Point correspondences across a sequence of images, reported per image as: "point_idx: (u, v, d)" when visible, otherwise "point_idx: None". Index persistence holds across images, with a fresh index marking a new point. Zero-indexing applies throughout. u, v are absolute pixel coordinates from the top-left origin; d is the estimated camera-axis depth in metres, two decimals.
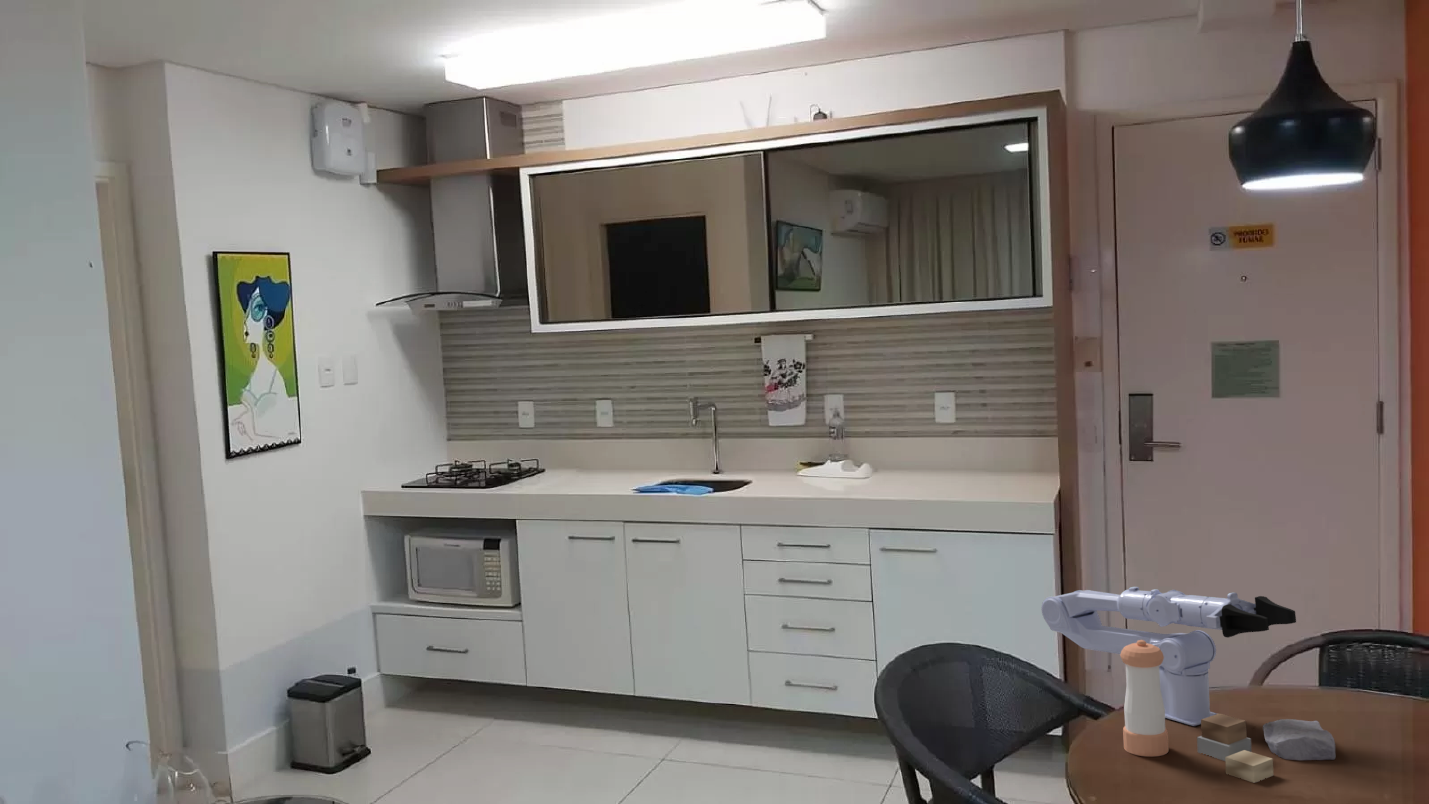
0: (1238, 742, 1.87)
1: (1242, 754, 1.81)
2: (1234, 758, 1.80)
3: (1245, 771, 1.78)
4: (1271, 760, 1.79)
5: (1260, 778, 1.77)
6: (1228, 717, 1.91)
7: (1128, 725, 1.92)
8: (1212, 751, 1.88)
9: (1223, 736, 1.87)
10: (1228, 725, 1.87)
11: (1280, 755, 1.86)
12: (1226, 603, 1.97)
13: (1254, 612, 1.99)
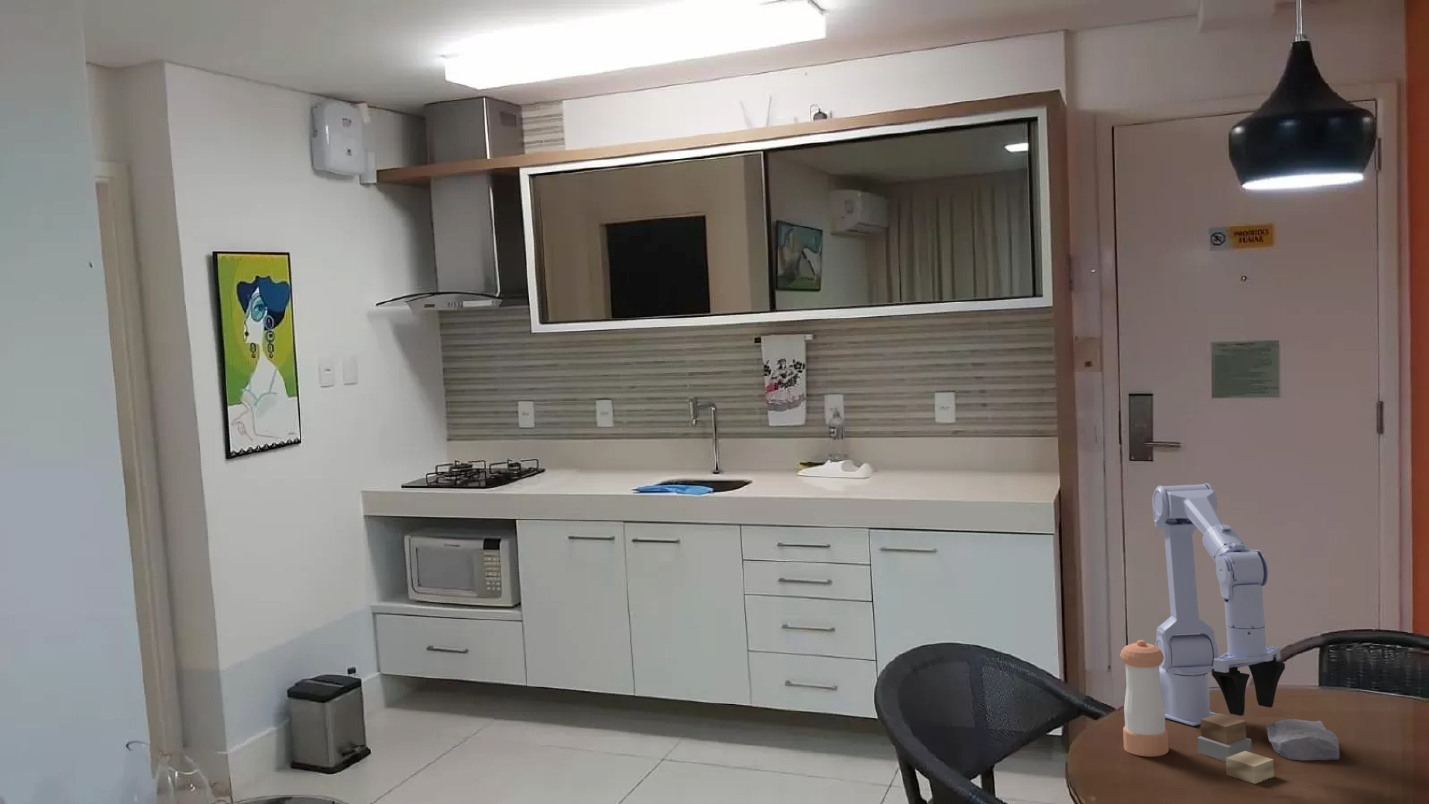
0: (1238, 743, 1.87)
1: (1242, 755, 1.81)
2: (1235, 759, 1.80)
3: (1245, 772, 1.77)
4: (1272, 761, 1.78)
5: (1261, 779, 1.77)
6: (1228, 717, 1.91)
7: (1128, 725, 1.92)
8: (1212, 751, 1.88)
9: (1222, 736, 1.87)
10: (1227, 725, 1.87)
11: (1284, 755, 1.86)
12: (1253, 660, 1.77)
13: (1261, 661, 1.82)
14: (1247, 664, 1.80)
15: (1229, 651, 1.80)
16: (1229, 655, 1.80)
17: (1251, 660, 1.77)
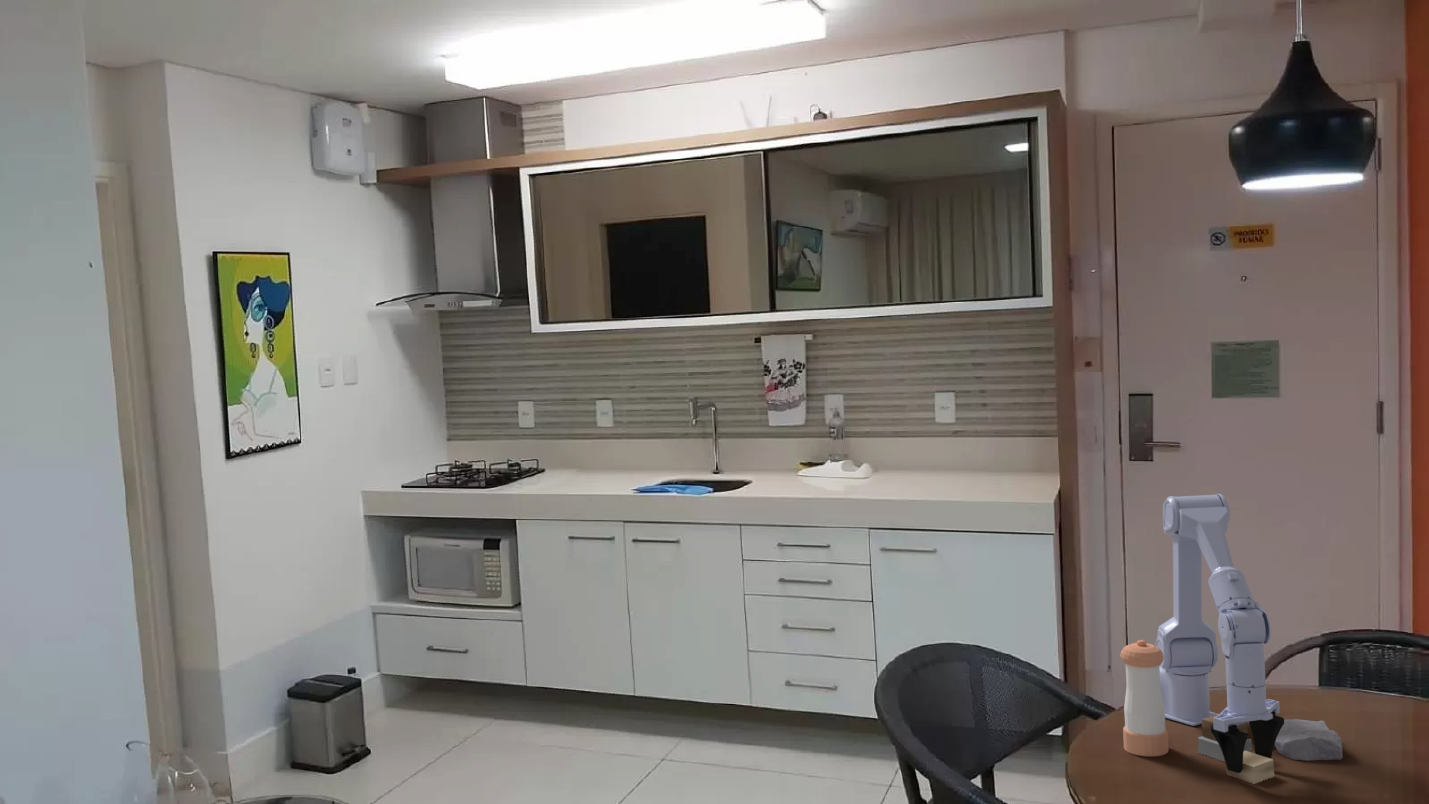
0: None
1: (1243, 755, 1.81)
2: None
3: (1245, 772, 1.78)
4: (1272, 761, 1.78)
5: (1260, 779, 1.77)
6: None
7: (1128, 725, 1.92)
8: (1212, 751, 1.88)
9: None
10: None
11: (1287, 755, 1.86)
12: (1253, 719, 1.77)
13: None
14: (1246, 721, 1.79)
15: (1229, 707, 1.80)
16: (1229, 712, 1.79)
17: (1251, 719, 1.76)
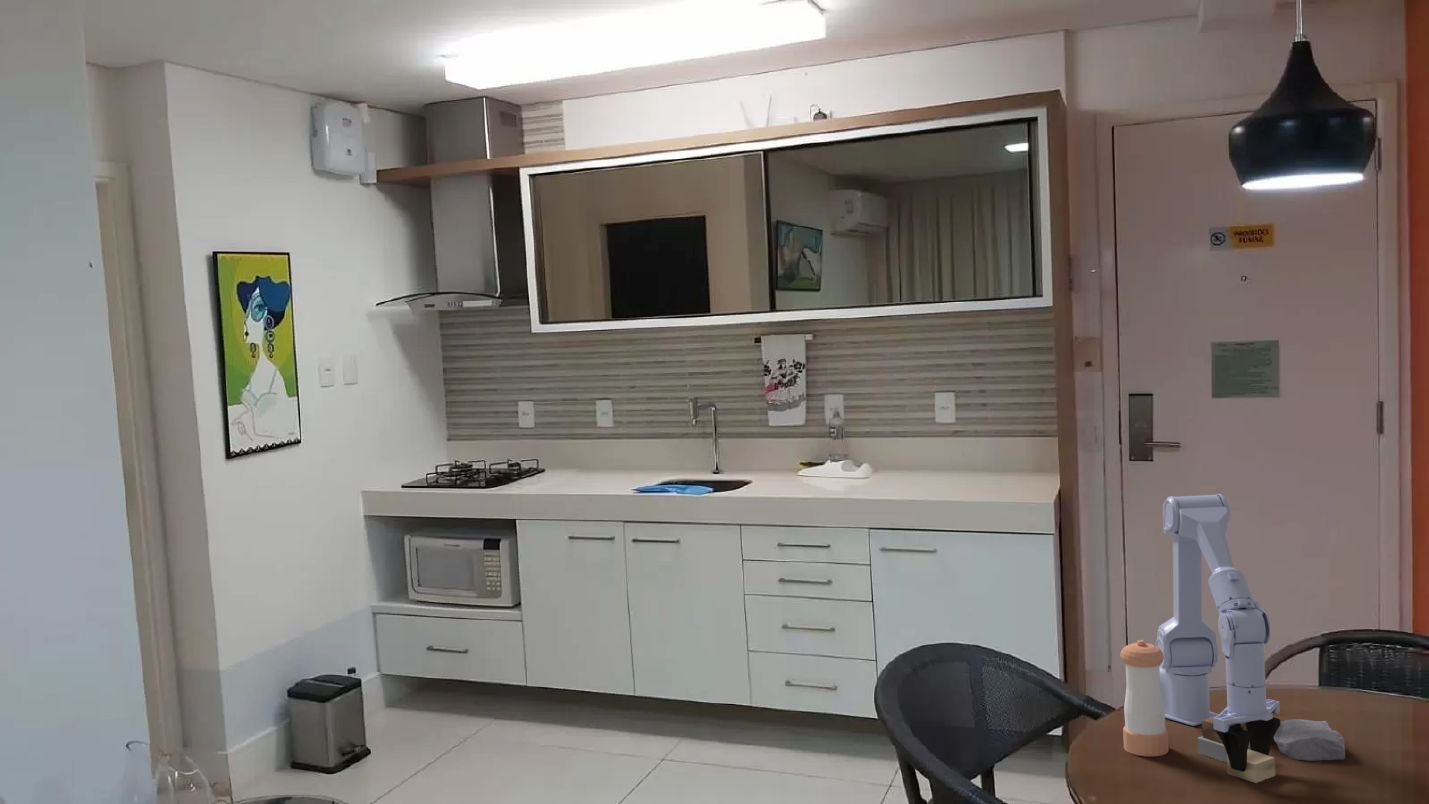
0: None
1: None
2: None
3: (1246, 770, 1.78)
4: (1273, 759, 1.79)
5: (1262, 777, 1.77)
6: None
7: (1128, 725, 1.92)
8: (1212, 751, 1.88)
9: None
10: None
11: (1290, 755, 1.86)
12: (1253, 719, 1.77)
13: None
14: None
15: (1229, 707, 1.80)
16: (1229, 712, 1.79)
17: (1251, 719, 1.76)
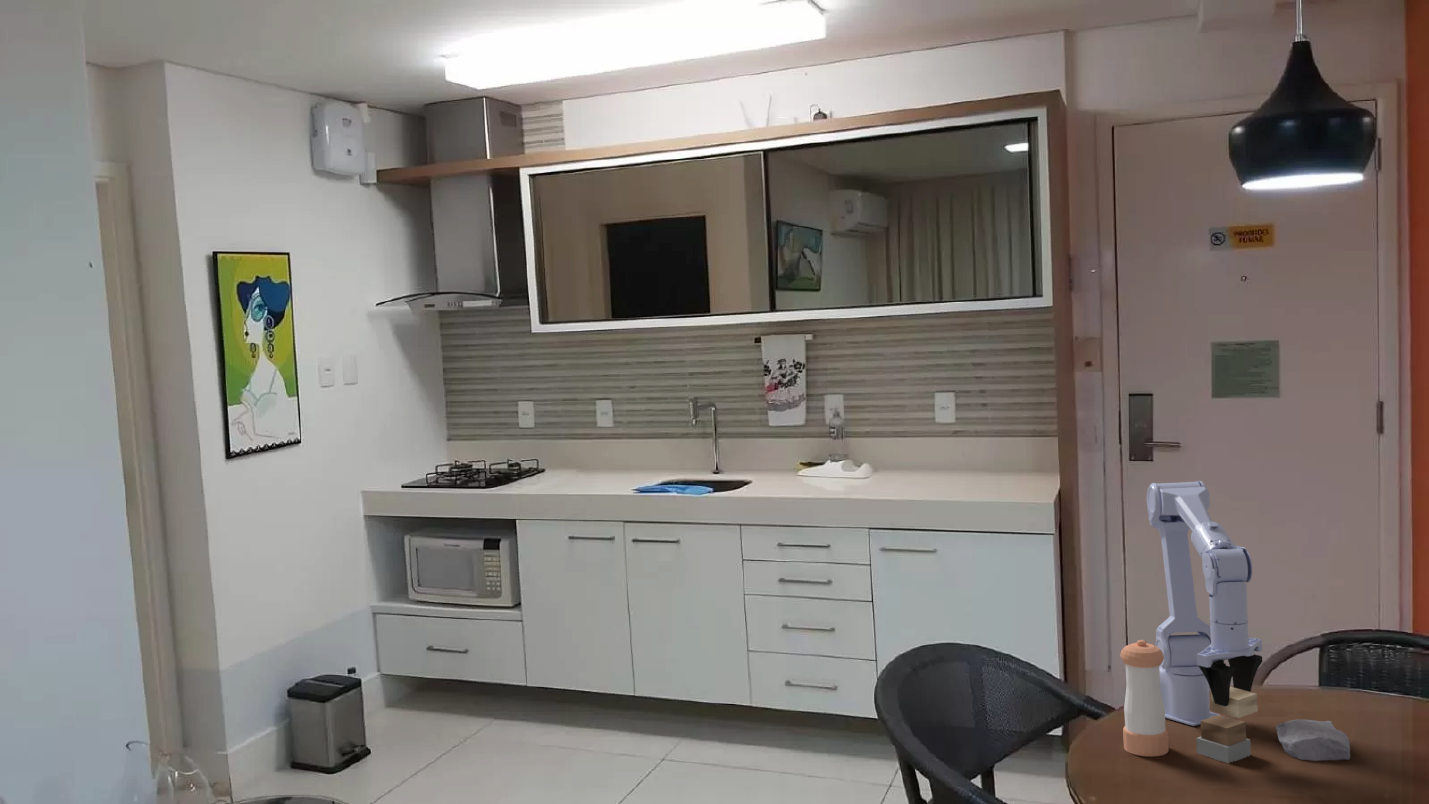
0: (1237, 743, 1.87)
1: None
2: None
3: (1230, 706, 1.83)
4: (1255, 695, 1.84)
5: (1244, 712, 1.82)
6: (1228, 718, 1.90)
7: (1128, 725, 1.92)
8: (1211, 751, 1.88)
9: (1223, 737, 1.86)
10: (1228, 726, 1.86)
11: (1295, 755, 1.86)
12: (1235, 655, 1.82)
13: None
14: (1229, 657, 1.84)
15: (1212, 645, 1.85)
16: (1212, 649, 1.85)
17: (1233, 655, 1.82)
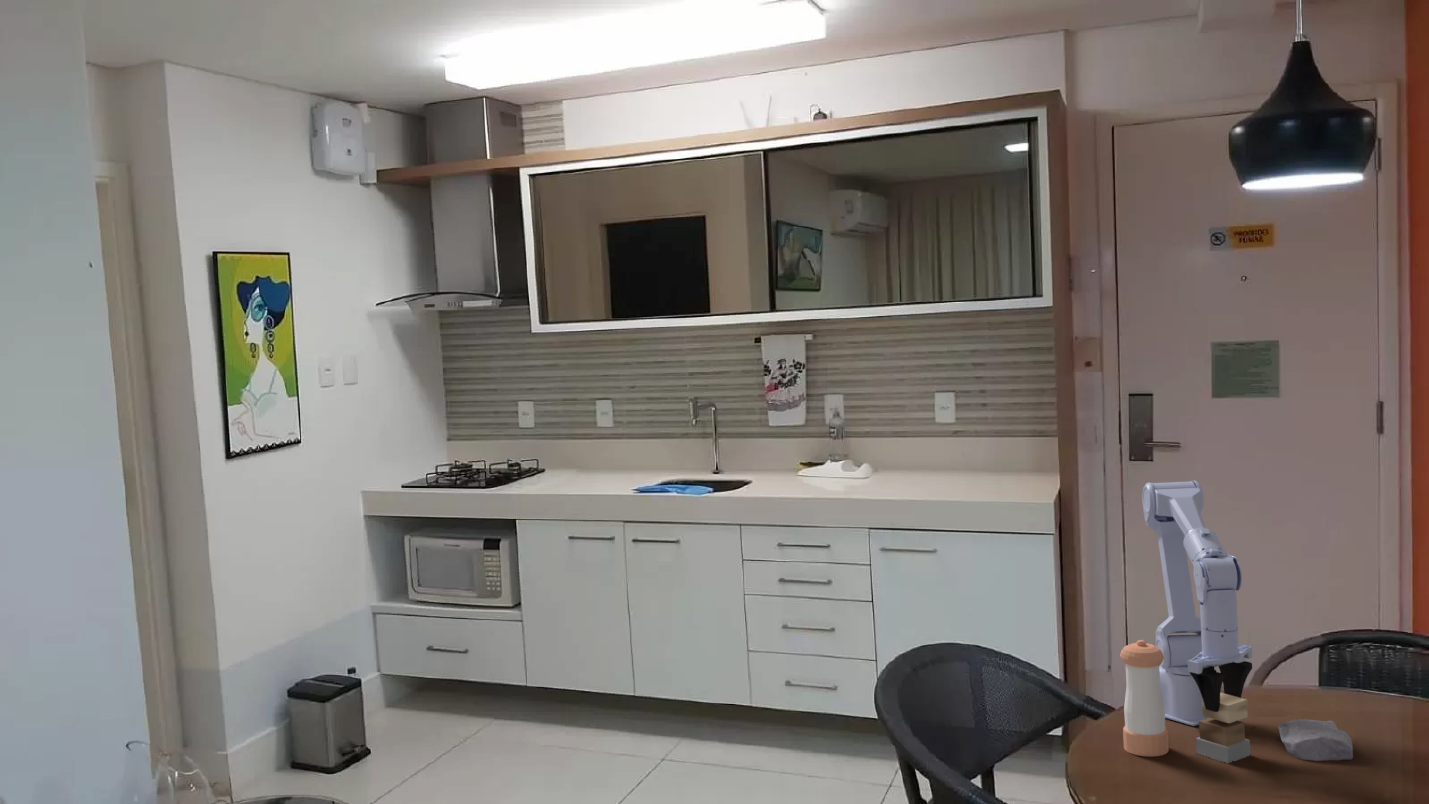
0: (1237, 743, 1.87)
1: None
2: None
3: (1220, 711, 1.87)
4: (1245, 701, 1.88)
5: (1235, 717, 1.86)
6: None
7: (1128, 725, 1.92)
8: (1210, 752, 1.88)
9: (1222, 738, 1.86)
10: (1226, 727, 1.86)
11: (1297, 756, 1.85)
12: (1225, 661, 1.86)
13: None
14: (1220, 664, 1.88)
15: (1203, 651, 1.89)
16: (1203, 655, 1.89)
17: (1223, 661, 1.86)
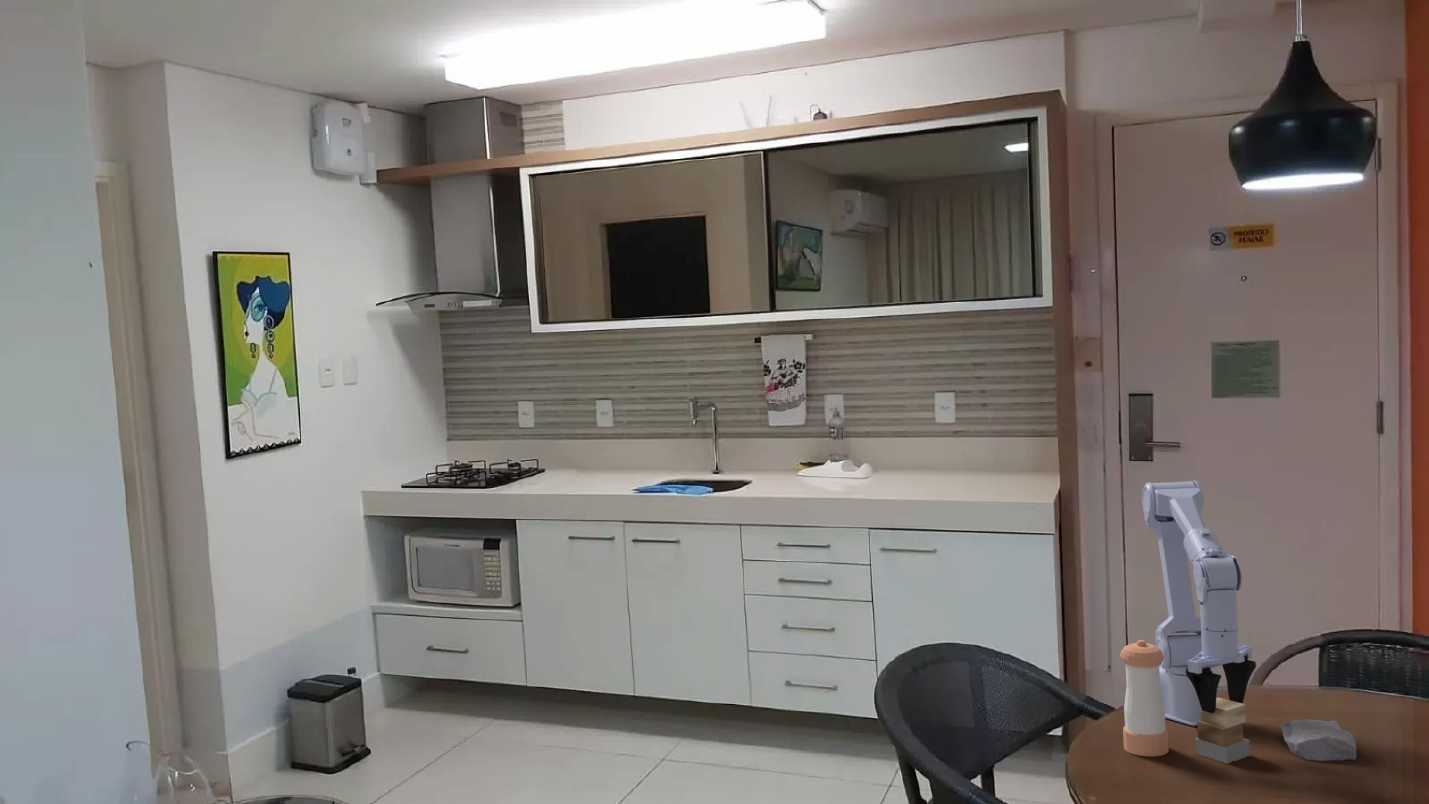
0: (1236, 743, 1.86)
1: (1216, 701, 1.90)
2: None
3: (1218, 716, 1.87)
4: (1243, 706, 1.88)
5: (1233, 722, 1.86)
6: None
7: (1128, 725, 1.92)
8: (1210, 752, 1.88)
9: (1219, 739, 1.86)
10: (1224, 728, 1.86)
11: (1301, 755, 1.85)
12: (1225, 661, 1.86)
13: None
14: (1220, 664, 1.88)
15: (1203, 651, 1.89)
16: (1203, 655, 1.89)
17: (1223, 661, 1.86)
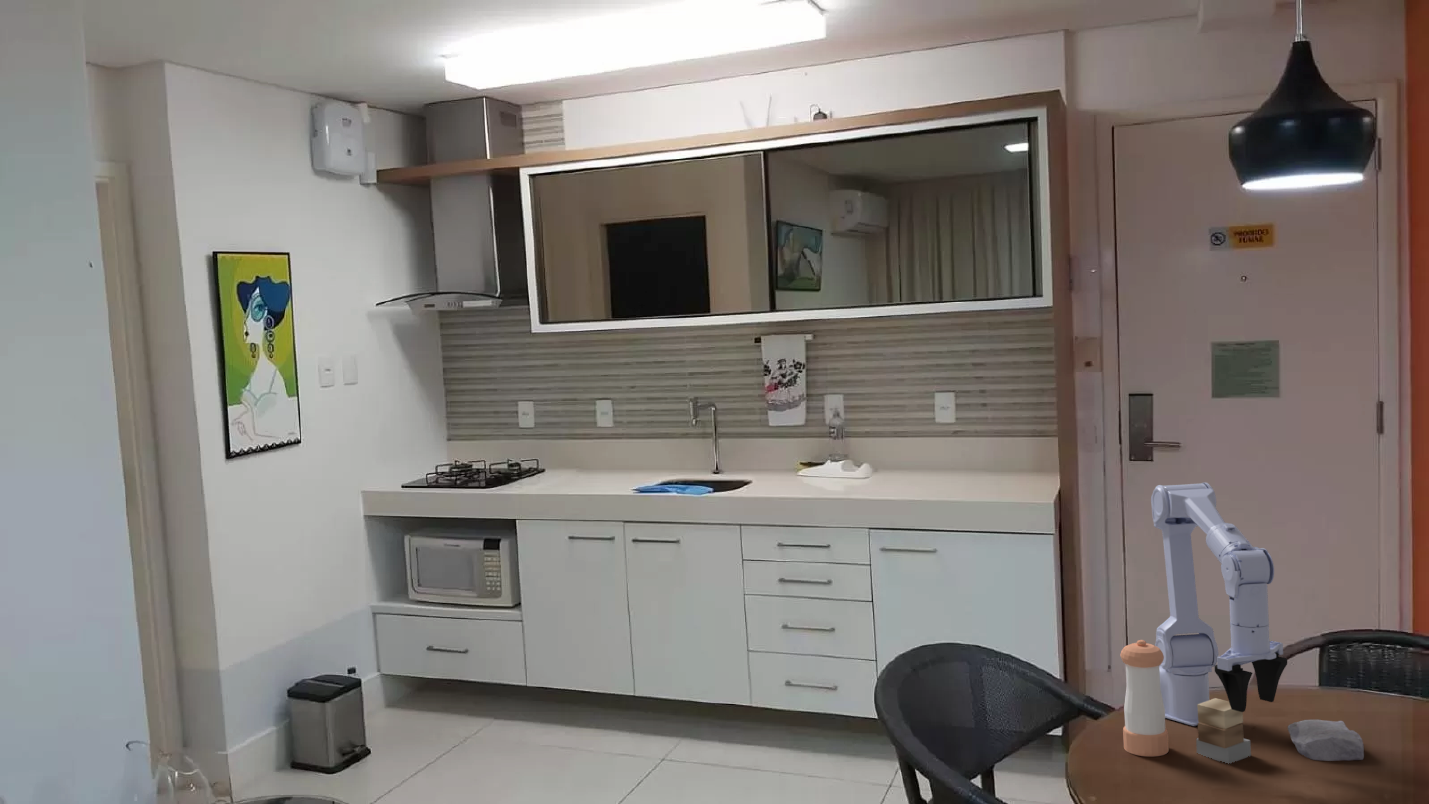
0: (1237, 744, 1.86)
1: (1213, 701, 1.90)
2: (1206, 705, 1.89)
3: (1216, 717, 1.87)
4: None
5: (1230, 723, 1.86)
6: None
7: (1128, 725, 1.92)
8: (1211, 752, 1.88)
9: (1220, 740, 1.85)
10: (1225, 729, 1.85)
11: (1308, 756, 1.85)
12: (1256, 658, 1.79)
13: None
14: (1250, 661, 1.81)
15: (1232, 648, 1.82)
16: (1232, 652, 1.81)
17: (1254, 658, 1.78)
